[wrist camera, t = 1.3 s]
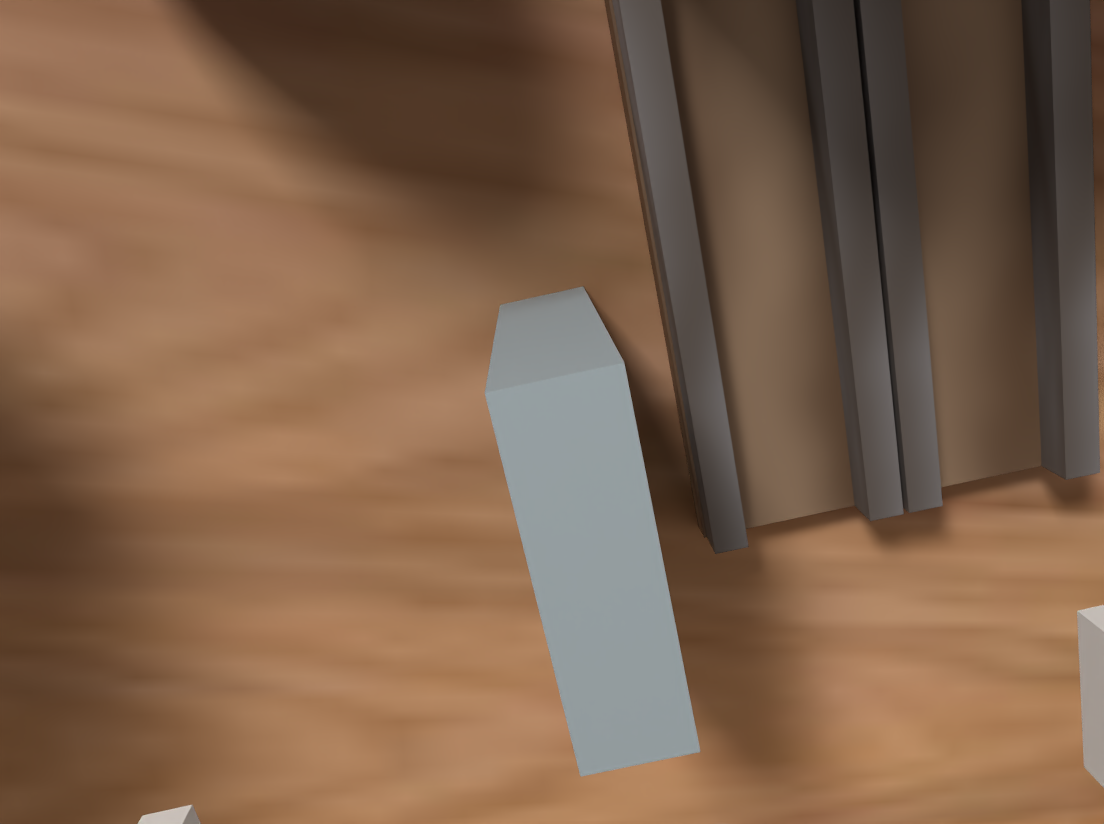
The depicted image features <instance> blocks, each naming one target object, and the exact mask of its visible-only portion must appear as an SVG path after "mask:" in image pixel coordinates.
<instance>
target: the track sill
mask: <svg viewBox="0 0 1104 824" xmlns="http://www.w3.org/2000/svg"><path fill="white" fill-rule="evenodd" d="M605 6H606V11H607V17H608V22H609V28H610V34H611V39H612V45H613V50H614V56H615V62H616V67H617V73H618V78H619V84H620V89H621V95H622V101H623V106H624V112H625V117H626V123H627V129H628V134H629V140H630V145H631V151H632V157H633V162H634V168H635V173H636V179H637V184H638V190H639V196H640V201H641V207H642V212H643V218H644V224H645V229H646V235H647V240H648V246H649V252H650V257H651V263H652V268H653V274H654V279H655V285H656V291H657V296H658V302H659V307H660V313H661V319H662V324H663V330H664V335H665V341H666V347H667V352H668V358H669V363H670V369H671V374H672V380H673V386H674V391H675V397H676V402H677V408H678V414H679V419H680V425H681V430H682V436H683V442H684V447H685V453H686V458H687V464H688V469H689V475H690V481H691V486H692V492H693V497H694V503H695V509H696V514H697V520H698V525H699V528H700V530H701V532H702V534H703V536H704V538H705V537H707V538H708V540H709V542H710V544H711V546H712V548H713V550H714V552H715V554H717V553H722V552H727V551H732V550H736V549H741V548H746V547H748V541H747V535H746V529H747V528H752V527H756V526H761V525H766V524H771V523H775V522H780V521H785V520H789V519H794V518H799V517H804V516H808V515H813V514H818V513H822V512H827V511H832V510H837V509H841V508H846V507H851V506H856V507H857V508H858V509H859V510H860V511H861V512H862V513H863V514H864V515H865V516H866V517H867V518H868V519H869V520H870V521H873V520H878V519H883V518H888V517H892V516H897V515H902V514H904V513H903V508H904V509H905V510H906V511H908V512H909V513H911V512H916V511H921V510H925V509H930V508H935V507H939V506H943V504H942V492H941V487H945V486H950V485H954V484H959V483H964V482H968V481H973V480H978V479H983V478H987V477H992V476H997V475H1001V474H1006V473H1011V472H1016V471H1020V470H1025V469H1030V468H1034V467H1039V466H1043V467H1044V468H1046V469H1048V470H1050V471H1051V472H1053V473H1055V474H1057V475H1059V476H1060V477H1062V478H1064V479H1066V480H1067V479H1072V478H1077V477H1081V476H1086V475H1091V474H1095V473H1100V454H1099V406H1098V359H1097V312H1096V264H1095V217H1094V170H1093V122H1092V75H1091V28H1090V0H605Z"/></svg>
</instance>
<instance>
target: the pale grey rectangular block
mask: <svg viewBox="0 0 1104 824" xmlns="http://www.w3.org/2000/svg"><path fill="white" fill-rule="evenodd" d="M485 396H486V400H487V404H488V408H489V412H490V416H491V420H492V424H493V428H494V432H495V436H496V440H497V444H498V448H499V452H500V456H501V460H502V464H503V468H504V472H505V476H506V480H507V484H508V488H509V492H510V496H511V500H512V504H513V508H514V512H515V516H516V520H517V524H518V528H519V532H520V536H521V540H522V544H523V548H524V552H525V556H526V560H527V564H528V568H529V572H530V576H531V580H532V584H533V588H534V592H535V596H536V600H537V604H538V608H539V612H540V616H541V620H542V624H543V628H544V632H545V636H546V640H547V644H548V648H549V652H550V656H551V660H552V664H553V668H554V672H555V676H556V680H557V684H558V688H559V692H560V696H561V700H562V704H563V708H564V712H565V716H566V720H567V724H568V728H569V732H570V736H571V740H572V744H573V748H574V752H575V756H576V760H577V764H578V768H579V772H580V776H585V775H590V774H595V773H600V772H605V771H610V770H615V769H619V768H624V767H629V766H634V765H639V764H644V763H649V762H654V761H659V760H663V759H668V758H673V757H678V756H683V755H688V754H693V753H698V752H700V747H699V742H698V737H697V732H696V727H695V722H694V716H693V711H692V706H691V701H690V696H689V691H688V686H687V681H686V676H685V670H684V665H683V660H682V655H681V650H680V645H679V640H678V635H677V630H676V624H675V619H674V614H673V609H672V604H671V599H670V594H669V589H668V584H667V578H666V573H665V568H664V563H663V558H662V553H661V548H660V543H659V537H658V532H657V527H656V522H655V517H654V512H653V507H652V502H651V497H650V491H649V486H648V481H647V476H646V471H645V466H644V461H643V456H642V451H641V445H640V440H639V435H638V430H637V425H636V420H635V415H634V410H633V405H632V399H631V394H630V389H629V384H628V379H627V374H626V369H625V364H624V361H623V359H622V357H621V355H620V354H619V352H618V350H617V348H616V346H615V344H614V343H613V341H612V339H611V337H610V335H609V333H608V331H607V330H606V328H605V326H604V324H603V322H602V320H601V318H600V317H599V315H598V313H597V311H596V309H595V307H594V305H593V304H592V302H591V300H590V298H589V296H588V294H587V293H586V291H585V289H584V287H579V288H574V289H570V290H565V291H561V292H556V293H552V294H547V295H542V296H538V297H533V298H529V299H524V300H520V301H515V302H511V303H506V304H502V305H500V309H499V315H498V320H497V326H496V332H495V337H494V343H493V349H492V355H491V360H490V366H489V372H488V378H487V383H486V389H485Z"/></svg>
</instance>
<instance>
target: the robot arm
mask: <svg viewBox="0 0 1104 824" xmlns="http://www.w3.org/2000/svg"><path fill="white" fill-rule="evenodd" d="M1077 617H1078V640H1079V663H1080V686H1081V708H1082V731H1083V754H1084V767H1085V768H1086V770H1087V771H1088V772H1089V773H1090V774H1091V775H1092V776H1093V777H1094V778H1095V779H1096V780H1097V781H1098V782H1099V783H1100V784H1101V785H1102V786H1103V787H1104V605H1102V606H1097V607H1093V608H1088V609H1083V610H1079V611H1077ZM138 824H201V823H200V821H199V818H198V816H197V814H196V812H195V809H194V807H193V805H188V806H184V807H179V808H174V809H170V810H165V811H161V812H156V813H152V814H147V815H142V817H141V819H140V820H139V822H138Z"/></svg>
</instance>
